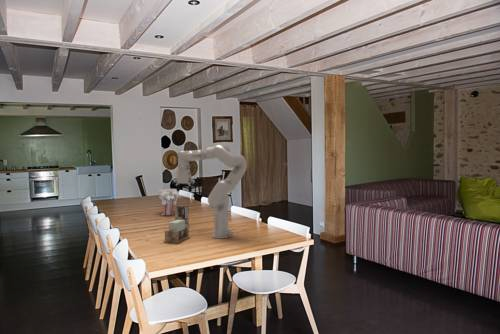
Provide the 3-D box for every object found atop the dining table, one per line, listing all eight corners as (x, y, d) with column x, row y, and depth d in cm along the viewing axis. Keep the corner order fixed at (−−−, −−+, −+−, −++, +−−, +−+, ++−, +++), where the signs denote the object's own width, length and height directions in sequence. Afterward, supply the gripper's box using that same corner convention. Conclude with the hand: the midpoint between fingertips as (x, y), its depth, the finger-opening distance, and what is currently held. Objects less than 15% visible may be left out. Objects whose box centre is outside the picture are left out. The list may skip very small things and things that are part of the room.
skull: (156, 214, 340) (155, 189, 339) (175, 212, 349) (175, 188, 348) (163, 218, 318) (162, 192, 317) (184, 216, 327) (183, 191, 326)
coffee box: (189, 226, 288) (188, 205, 287) (185, 228, 282) (185, 207, 281) (178, 225, 291) (178, 205, 290) (174, 227, 284) (174, 206, 283)
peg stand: (190, 238, 251) (189, 226, 251) (178, 244, 236) (177, 232, 236) (176, 236, 255) (176, 225, 254) (163, 242, 240) (163, 230, 239)
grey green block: (184, 228, 249) (184, 220, 248) (176, 232, 239) (176, 223, 239) (177, 228, 251) (177, 219, 250) (169, 231, 241) (168, 222, 241)
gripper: (196, 167, 265) (197, 191, 266) (175, 167, 271) (176, 190, 272) (191, 168, 258) (192, 192, 259) (170, 168, 264) (171, 191, 265)
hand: (184, 191), depth 265 cm, fingers open, 9 cm apart
